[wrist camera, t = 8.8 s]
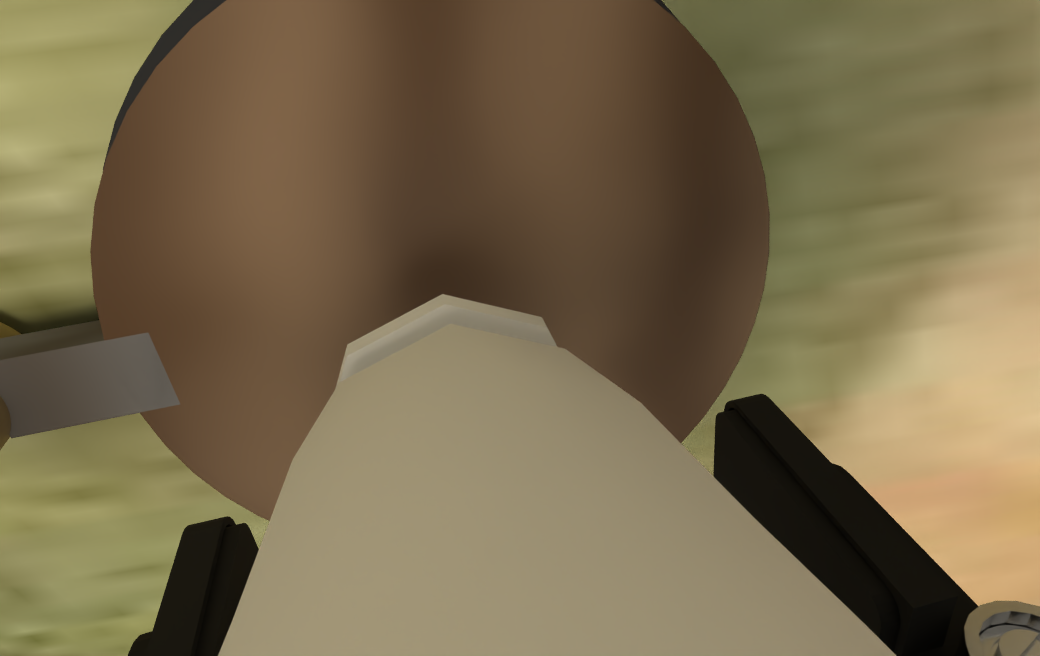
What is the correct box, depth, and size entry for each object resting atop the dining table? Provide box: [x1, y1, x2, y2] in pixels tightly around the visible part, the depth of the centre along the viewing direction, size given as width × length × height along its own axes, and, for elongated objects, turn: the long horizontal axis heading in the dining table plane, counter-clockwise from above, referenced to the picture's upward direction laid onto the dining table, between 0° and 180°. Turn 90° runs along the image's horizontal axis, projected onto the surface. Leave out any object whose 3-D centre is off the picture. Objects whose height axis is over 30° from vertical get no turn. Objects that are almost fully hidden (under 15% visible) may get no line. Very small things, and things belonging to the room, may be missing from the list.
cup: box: [218, 294, 896, 656], centre depth 9 cm, size 7×10×8 cm
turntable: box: [0, 0, 770, 521], centre depth 14 cm, size 22×16×9 cm
